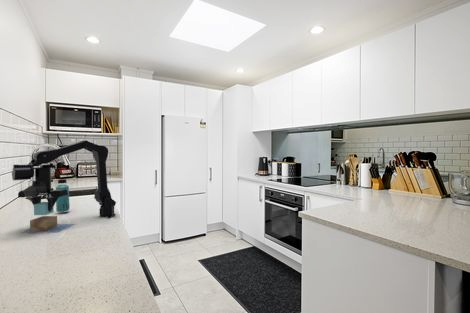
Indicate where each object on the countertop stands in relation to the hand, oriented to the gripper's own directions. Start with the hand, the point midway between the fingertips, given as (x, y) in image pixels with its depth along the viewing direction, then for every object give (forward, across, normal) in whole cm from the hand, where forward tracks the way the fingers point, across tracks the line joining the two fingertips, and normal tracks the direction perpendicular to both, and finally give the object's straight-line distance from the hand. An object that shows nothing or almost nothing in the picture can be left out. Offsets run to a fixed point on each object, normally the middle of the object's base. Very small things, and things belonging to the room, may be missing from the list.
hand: (44, 211), depth 109 cm
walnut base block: (+8, 0, 0) cm, 8 cm away
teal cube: (+1, 0, 0) cm, 1 cm away
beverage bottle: (+9, -12, +30) cm, 33 cm away
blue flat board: (+9, +2, +1) cm, 9 cm away
